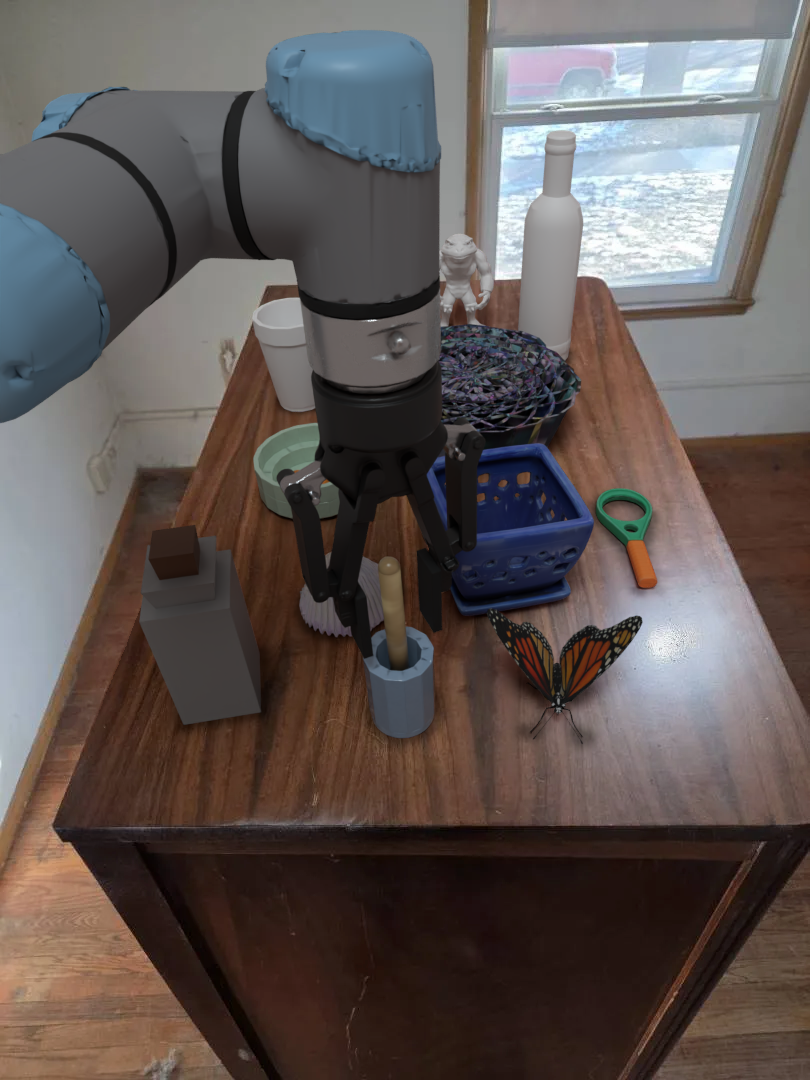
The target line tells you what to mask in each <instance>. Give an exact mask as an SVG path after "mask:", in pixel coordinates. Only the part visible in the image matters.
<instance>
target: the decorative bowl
mask: <svg viewBox="0 0 810 1080" xmlns="http://www.w3.org/2000/svg"><path fill="white" fill-rule="evenodd" d="M483 325H484V324H482V325H474V324H457V325H451V326H449V325H448V326H442V327H441V353H440V357H439V360H438V361H439V363H440V365H441V370H442V417H441V421H442V423H443V424H444V425H453V424H454V422H455V421H456V420H458V419H460V418H465V419H467V420H468V421H469V423H470V424H471V425H473V427H474V428H475V429H476V430H477V431H478V432H479V433H480V434H481V435H482V436H483V437H484V438H485V441H486V442H485V446H484V449H483V450H486V449H494V448H500V447H508V446H516V445H525V444H536V443H540V444H544V445H545V446H546V447H547V448H549V446H550V444H551V442H552V440H553V438H554V437H555V435H556V433H557V431H558V429H559V428H560V426H561V424H562V422H563V420H564V418H565V417H566V415H567V413H568V411H569V409H570V408H572V407H573V406H575V404H576V397H577V395H578V394H579V393H580V392H581V390H582V389H581V388H582V378H580V376H579V375H577V374H576V372H575V369H574V368H573V367H572V366H570V365H569V364H568V363H567V361H566V360H564V359H563V358H562V357H561V356H560V355H559V354H558V353H557V352H556V351H553V350H550V349H548V348H547V347H546V344H545V343H544V342H543V341H542V340H541V339H540V338H539V337H536V336H534V335H531V334H529V333H526V332H524V331H518V329H516V330H515V329H509V328H504V327H495V326H489V325H485V326H483ZM442 456H445V451H444V450H443V449H442V451H441V453H440V454H439V456H438V457H442ZM438 457H437V458H438Z"/></svg>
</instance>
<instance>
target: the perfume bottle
mask: <svg viewBox="0 0 810 1080" xmlns="http://www.w3.org/2000/svg"><path fill="white" fill-rule="evenodd" d="M143 567H144V568H143V573H142V580H141V581H142V582H141V589H140V594H141V595H142V599H141V606H140V614H139V618H138V619H139V621H138V622H139V625H140V627H141V629H142V632H143V634H144V636H145V639H146V641H147V643H148V646H149V648H150V650H151V653H152V655H153V658H154V660H155V661H156V664H157V666H158V669H159V671H160V673H161V676H162V678H163V681H164V683H165V685H166V688H167V690H168V692H169V694H170V697H171V699H172V701H173V705H174V706H175V708H176V711H177V713H178V715H179V717H180V720H181V722H182V725H183V726H186V725H192V724H198V723H204V722H210V721H216V720H223V719H227V718H228V719H229V718H234V717H242V716H247V715H253V714H258V713H262V697H261V694H262V693H261V691H262V690H261V654H260V653H261V652H260V650H259V645H258V642H257V640H256V635H255V631H254V628H253V625H252V620H251V617H250V614H249V610H248V606H247V603H246V598H245V597H244V596H245V595H244V593H243V589H242V585H241V581H240V577H239V575H238V570H237V567H236V563H235V560H234V556H233V553H232V549H231V548H230V549H223V550H217V535H210V536H203V537H199V536H198V531H197V525H196V524H191V525H184V526H183V525H182V526H175V527H169V528H163V529H155V530H152V531H151V537H150V544H147V547H146V553H145V561H144V566H143Z"/></svg>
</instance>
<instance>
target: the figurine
mask: <svg viewBox="0 0 810 1080" xmlns="http://www.w3.org/2000/svg"><path fill="white" fill-rule="evenodd" d="M476 270H477V271H478V273H479V274H480V279H479V280H480V281H479V286H480V292H481V293H479V294H478V295H477V296H478V297H476V296H475V294H474V292H473V289H472V287H471V278H472V276H473V274H474V273H475V272H476ZM440 271H441V273H442V274H443V276H444V278H445V288H444V291H443V294H442V295H441V294H440V310H441V327H442V326H449V325H450V319H451V314H452V312H453V310H454V305H455V302H456V301H457V300H460V301H461V302H462V303H463V307H464V310H465V315H466V323H467V324H474V325H483V326H486V325H485V324H482V323H480V321H479V320H478V319H477V318H476V312H477V310H479V311H482V310H483V309H484V308H485V307H487V305H488V304H489V302H490V300H491V295H492V293H493V291H494V288H495V287H494V285H495V279H494V275H493V271H492V266H491V263H490V262H489V261H488V257H487V254H486V253H485V252H484V251H482V250H481V249H480V248H479V247H477V244H476V243H475V242H474V239H473V237H470V236H469V235H467V234H464V233H454V234H452V235H450V236H449V237H447V238H446V239H445V240H444V243H443V245H442V246H441V248H439V272H440ZM477 298H479V299H480V298H482V300H481V302H480V303H478V302H477Z"/></svg>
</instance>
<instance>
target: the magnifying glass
mask: <svg viewBox="0 0 810 1080" xmlns="http://www.w3.org/2000/svg"><path fill="white" fill-rule="evenodd" d="M619 500H620V501H628V502H631V503H634V504H636V505H637V506H640V507H641V508H642V510H643V511H644V515H643V516H642V517H640V518H638V519H633V520H622V519H618V518H614V517H612V516H611V515H609V514H607V513H606V511H604V508H603V507H604V506H605V505H606V504H607V503H610V502H613V501H619ZM595 503H596V504H595V516H596V518H597V520H598V521H599V522H600V523H601V524H602V525H603V527H605V528H606V529H607V530H608V531H609V532H610V533H612V535H614V536H615V538H617V539H618V540H619V541H620V542H621V543H622V544H623V545H624V546H625V548H626V551H627V555H628V557H629V560H630V563H631V566H632V570H633V573H634V575H635V579H636V582H637V585H638V586H639V587H640V588H643V589H644V588H645V589H649V588H654V587H655V586H657V584H658V583H659V582H658V578H657V574H656V572H655V569H654V567H653V564H652V560H651V558H650V555H649V552H648V550H647V546H646V543H645V541H644V538H645V535H646V534H647V532H648V530H649V527H650V524H651V522H652V521H651V520H652V516H653V506H652V503H651V501H649V499H648V498H647V497H646V496H644V495H643V494H641V493H640V492H637V491H635V490H634V489H630V488H625V487H624V488H621V487H619V488H616V487H615V488H609V489H607V490H605V491H604V492H602V493H600V494H599V496H598V498H597V500H596V502H595ZM628 530H630V531H628ZM631 530H632V531H634V532H631Z"/></svg>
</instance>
